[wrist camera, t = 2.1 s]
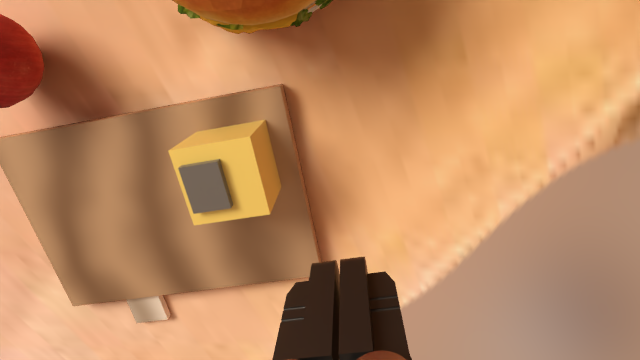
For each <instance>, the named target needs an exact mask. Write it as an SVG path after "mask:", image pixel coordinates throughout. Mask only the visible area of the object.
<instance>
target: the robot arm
mask: <svg viewBox="0 0 640 360" xmlns="http://www.w3.org/2000/svg"><path fill="white" fill-rule="evenodd" d="M281 320H282V322H281V323H280V328H279V332H278V337H277V342H276V346H275V351H274V355H273V360H412V359H411V357H410V354H409V350H408V345H407V340H406V335H405V330H404V325H403V320H402V315H401V310H400V305H399V301H398V296H397V291H396V286H395V282H394V281H393V280H392V279H391V277H390V276H389V275H388V274H387V273H386V272H378V273H370V274H368V272H367V266H366V260H365V257H357V258H350V259H342V260H340V274H339V269H338V265H337V261H336V260H335V261H327V262H319V263H312V264H311V270H310V277H309V281H305V282H297V283H295V285H294V286H293V287H292V289H291V290H290V291H289V293H288V294H287V296H286V301H285V305H284V311H283V314H282V319H281Z"/></svg>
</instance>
